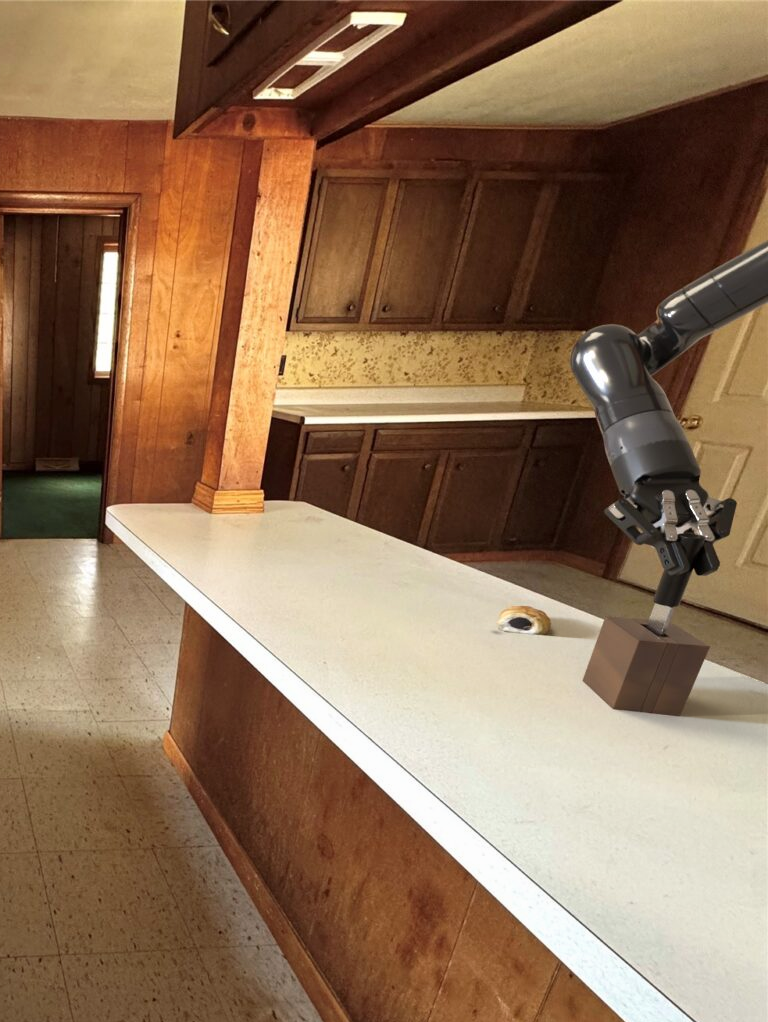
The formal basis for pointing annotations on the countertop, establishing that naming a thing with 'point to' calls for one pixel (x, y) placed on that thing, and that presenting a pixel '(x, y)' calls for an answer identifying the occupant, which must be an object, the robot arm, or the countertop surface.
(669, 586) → the knife
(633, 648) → the knife block
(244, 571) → the countertop surface
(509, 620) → the pastry
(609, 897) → the countertop surface
